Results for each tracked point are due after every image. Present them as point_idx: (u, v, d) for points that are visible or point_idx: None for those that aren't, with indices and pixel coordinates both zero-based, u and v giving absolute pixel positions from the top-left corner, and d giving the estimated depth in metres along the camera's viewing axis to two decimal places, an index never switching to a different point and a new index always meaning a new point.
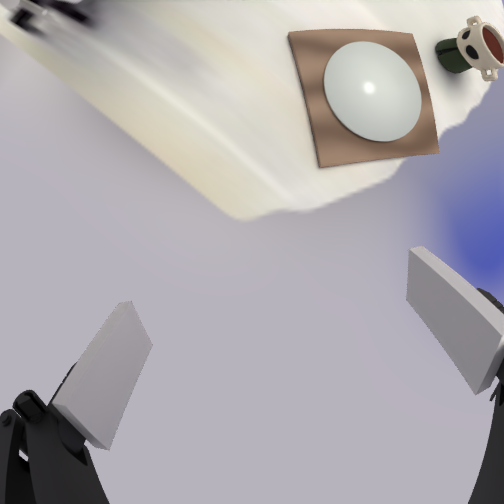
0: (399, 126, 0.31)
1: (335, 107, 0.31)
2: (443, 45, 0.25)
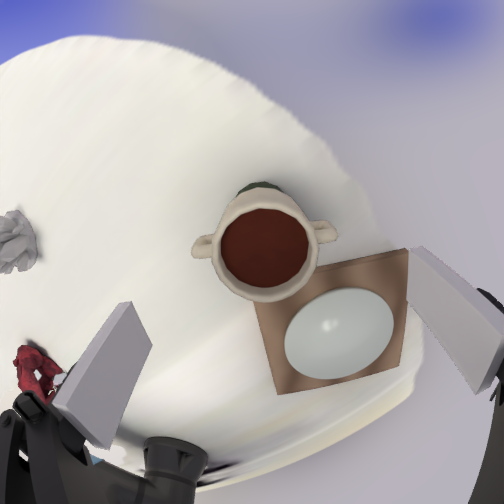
0: (381, 316, 0.32)
1: (356, 370, 0.35)
2: None
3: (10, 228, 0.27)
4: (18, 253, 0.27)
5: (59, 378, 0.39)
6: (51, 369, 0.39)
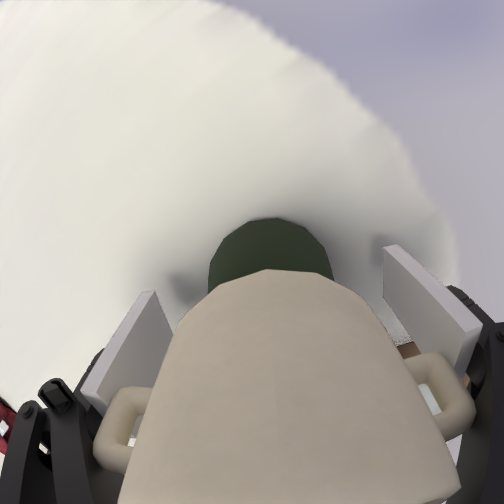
0: (437, 408, 0.17)
1: None
2: None
3: None
4: None
5: None
6: None
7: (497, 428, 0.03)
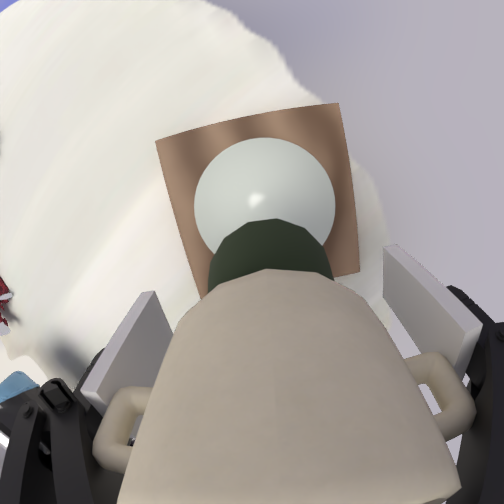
0: (313, 178, 0.27)
1: None
2: None
3: None
4: None
5: (3, 296, 0.35)
6: None
7: (497, 428, 0.03)
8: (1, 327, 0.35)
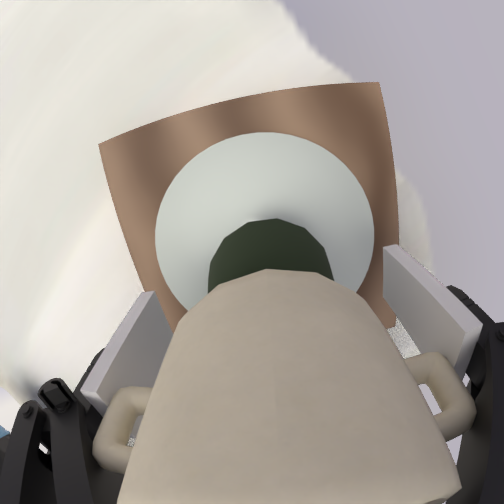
0: (343, 199, 0.17)
1: None
2: None
3: None
4: None
5: None
6: None
7: (497, 428, 0.03)
8: None
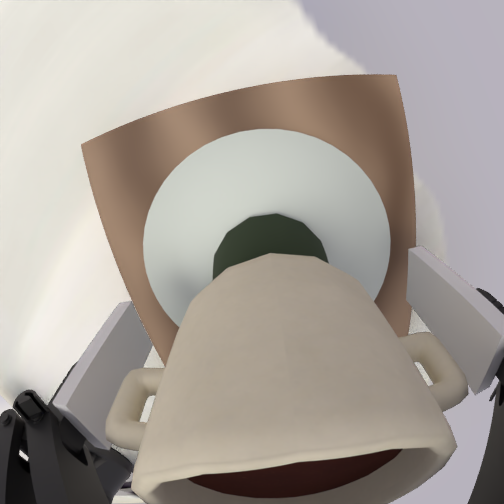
0: (358, 207, 0.14)
1: None
2: None
3: None
4: None
5: None
6: None
7: None
8: None
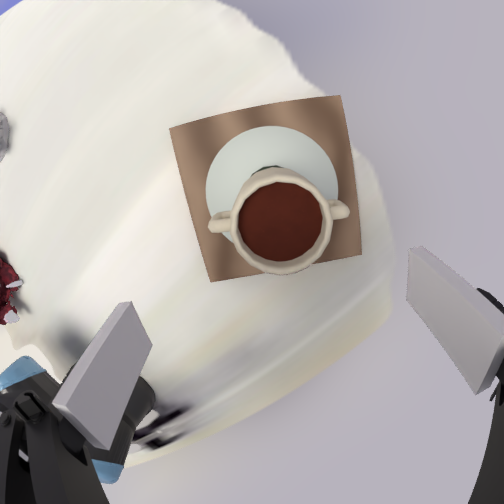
0: (317, 163, 0.29)
1: None
2: None
3: None
4: None
5: (13, 283, 0.37)
6: (8, 275, 0.37)
7: None
8: (10, 315, 0.37)
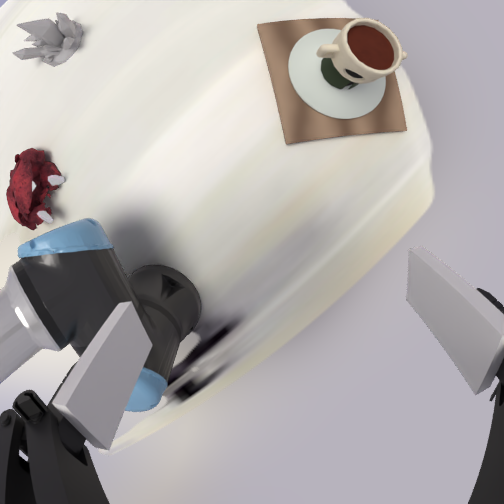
0: None
1: (363, 112, 0.34)
2: (339, 84, 0.31)
3: None
4: (71, 28, 0.25)
5: None
6: (49, 172, 0.38)
7: None
8: (44, 213, 0.38)
